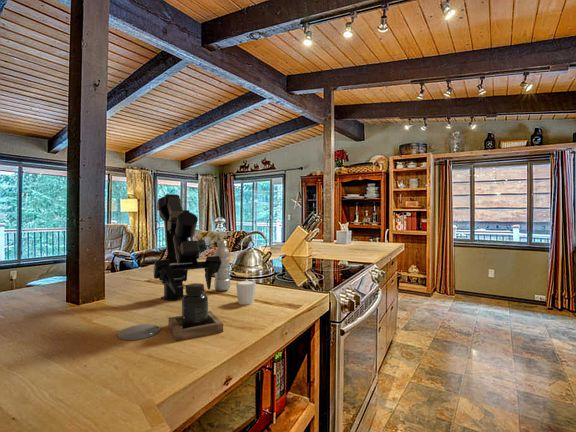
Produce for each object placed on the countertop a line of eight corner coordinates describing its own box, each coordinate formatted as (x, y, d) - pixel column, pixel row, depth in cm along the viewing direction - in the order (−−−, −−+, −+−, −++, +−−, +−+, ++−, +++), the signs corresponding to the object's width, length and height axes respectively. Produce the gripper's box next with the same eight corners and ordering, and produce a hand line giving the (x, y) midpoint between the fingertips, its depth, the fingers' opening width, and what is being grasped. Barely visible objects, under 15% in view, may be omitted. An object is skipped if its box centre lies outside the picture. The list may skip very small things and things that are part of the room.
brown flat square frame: (168, 325, 89) (168, 317, 89) (210, 318, 95) (210, 311, 95) (176, 340, 78) (176, 332, 78) (223, 331, 84) (223, 323, 84)
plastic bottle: (233, 289, 129) (233, 240, 129) (222, 293, 123) (222, 242, 123) (222, 287, 132) (222, 240, 132) (210, 291, 127) (210, 241, 126)
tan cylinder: (252, 305, 107) (252, 285, 107) (233, 304, 109) (233, 284, 109) (258, 300, 114) (258, 280, 114) (240, 299, 116) (240, 280, 115)
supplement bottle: (178, 327, 87) (178, 284, 87) (202, 322, 91) (202, 281, 91) (186, 335, 82) (186, 289, 82) (211, 329, 86) (211, 285, 86)
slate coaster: (109, 335, 82) (109, 334, 82) (143, 323, 90) (143, 322, 90) (135, 343, 77) (135, 341, 77) (167, 329, 86) (167, 328, 86)
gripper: (154, 231, 88) (160, 277, 79) (219, 229, 97) (231, 270, 88) (151, 256, 95) (156, 301, 86) (212, 252, 104) (223, 292, 95)
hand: (193, 290), depth 88 cm, fingers open, 9 cm apart
